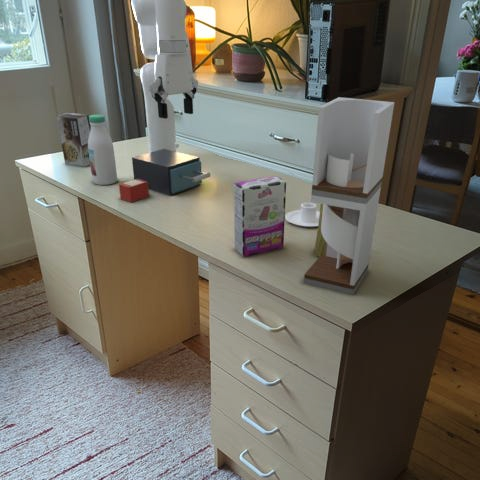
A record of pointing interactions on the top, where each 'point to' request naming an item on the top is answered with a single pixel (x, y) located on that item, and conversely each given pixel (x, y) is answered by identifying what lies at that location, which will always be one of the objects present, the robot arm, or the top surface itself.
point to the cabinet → (160, 168)
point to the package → (133, 190)
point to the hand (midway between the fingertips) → (176, 115)
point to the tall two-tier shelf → (348, 187)
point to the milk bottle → (101, 152)
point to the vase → (320, 238)
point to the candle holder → (304, 215)
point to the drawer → (186, 176)
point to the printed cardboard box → (74, 138)
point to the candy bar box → (259, 215)
